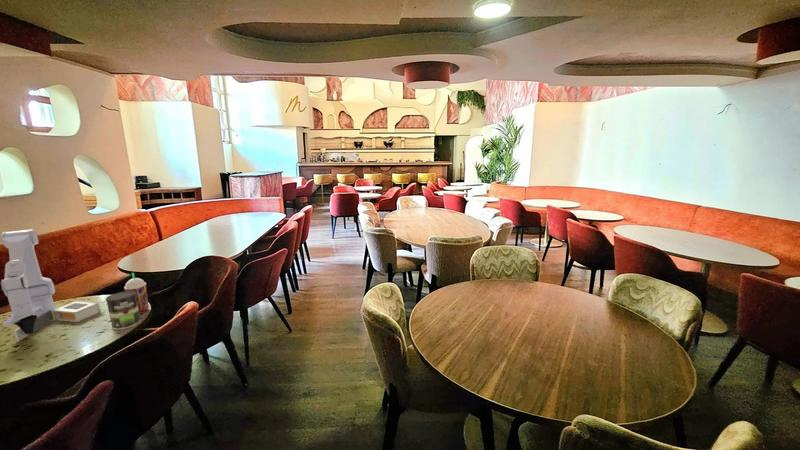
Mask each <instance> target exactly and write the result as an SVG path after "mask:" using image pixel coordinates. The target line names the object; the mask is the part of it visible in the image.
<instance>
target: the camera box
mask: <svg viewBox="0 0 800 450" xmlns="http://www.w3.org/2000/svg"><path fill="white" fill-rule="evenodd" d="M52 312H53V320H54V321H62V322H63V321H65V322H73V323H80V322H81V321H84V320H86V319H89V318H91V317H93V316H95V315H98V314H100V313H101V312H102V311H101V306H100V303H99V302H95V301H84V300H74V301H71V302H69V303H67V304H64V305H62V306H59V307H55V309H54V310H52Z"/></svg>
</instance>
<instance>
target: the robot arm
mask: <svg viewBox="0 0 800 450" xmlns="http://www.w3.org/2000/svg"><path fill="white" fill-rule="evenodd" d="M0 240H1V244H2V245H3V246H5V248H6V249H8V255H9V261H8V262H6V263H5V265H4V266H5V267H4V279H1V282H0V285H1V290H2V291H3V293H4V295H5V297H7V300H8V303H9V307H10V310H11V313H12V314H11V315H10V317H9V318H8V319H7V320H4V321H3V322H2V323H3V327H4V328H5V327H11V326H13V325H16V326H17V327H18V328H19V327H20V328H21V329H22V330H23V332H24V333H25V334H29V335H31V334H33V333H34V332H33V328H34V323H35V320H36V318H37V317H38V316H40V315H42V314H43V313H45V312H47V311H49V310H51V311H52V310H54V309H56V307H55V303H54V299H53V296H52V295H54V294H55V293H56V287H55V285H54V284H55V283H54V282H53V280H52V278H49V277H44V276H42V275H43V274H42V272H41V271H42V270H41V268H40V265H39V261H38V258H37V254H36V251H35V245H38V244H39V238H38V235H37V232H36V230H35V229H25V230H24V229H23V230H15V231H3V232H2V233H1V234H0ZM52 315H53V312H52ZM53 316H54V315H53Z"/></svg>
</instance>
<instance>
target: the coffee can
mask: <svg viewBox="0 0 800 450" xmlns="http://www.w3.org/2000/svg"><path fill="white" fill-rule="evenodd" d="M105 301H106V306H107V308H108V309H107V310H108V313H109V318H110V322H111V328H112V330H117V331H119V330H126V329H129V328H133V327H135V326H137V325H138V324H140V323H141V321H142V319H141V315H140V314H141V313H140V314H139V309H138V304H137V299H136V292H135V291H125V290H124V291H119V292H115V293H112V294H110V295H107V296H106V297H105Z"/></svg>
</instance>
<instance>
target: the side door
mask: <svg viewBox="0 0 800 450" xmlns="http://www.w3.org/2000/svg"><path fill="white" fill-rule="evenodd" d="M53 320H54V315H52V311H51V310H49V311H47V312H45V313H43V314H42V315H40V316H38V317H37V318H36V320H35V323H34V328H33V333H34V332H36V331H37V330H39V329H41V328H42V327H43V326H45V325H47V324H49V323H50V322H52V321H53ZM13 333H14V337H15V341H16V342H19V341H21V340H23V339H25V338H27V337H28V336H29V335H30V334H25V333H24V332H23V330H22V329H21V328H20V327H19V326H18V328H16V329H14V330H13Z"/></svg>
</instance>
